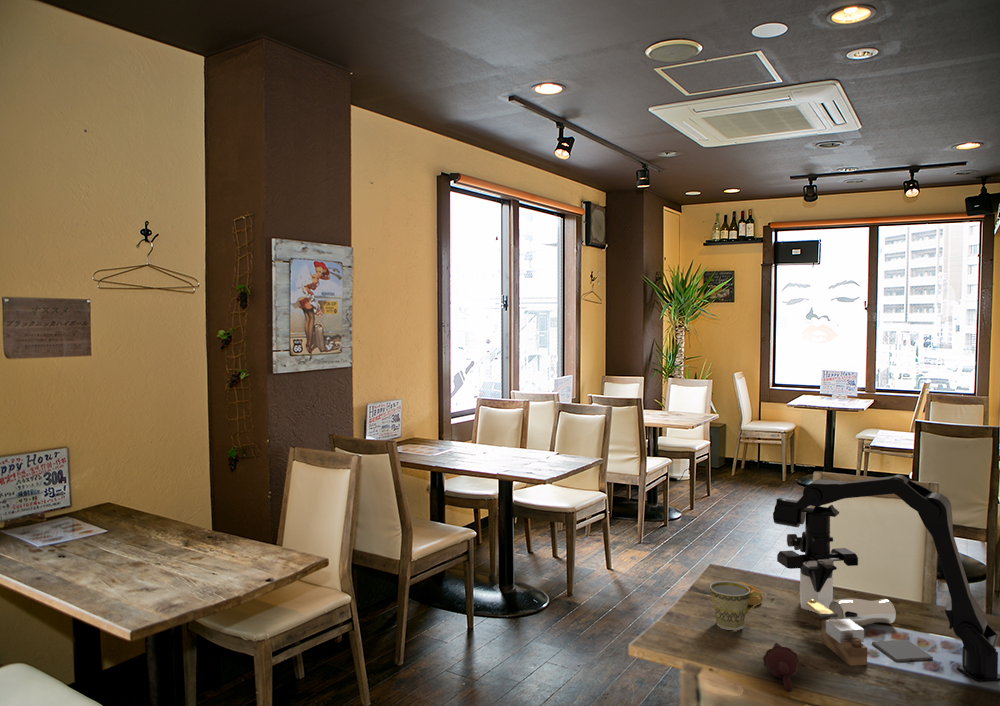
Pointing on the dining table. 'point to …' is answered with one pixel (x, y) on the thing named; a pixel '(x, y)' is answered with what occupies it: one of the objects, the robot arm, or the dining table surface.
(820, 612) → the lever
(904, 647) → the mat
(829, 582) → the jar
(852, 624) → the square block
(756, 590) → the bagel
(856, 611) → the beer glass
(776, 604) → the dining table surface
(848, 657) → the plane body
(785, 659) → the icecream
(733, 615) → the ceramic cup
